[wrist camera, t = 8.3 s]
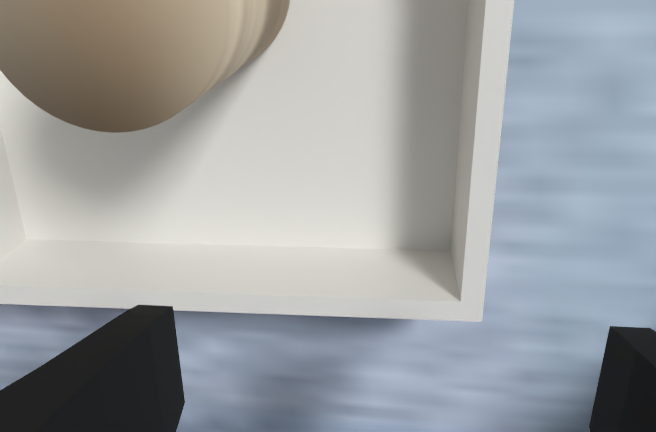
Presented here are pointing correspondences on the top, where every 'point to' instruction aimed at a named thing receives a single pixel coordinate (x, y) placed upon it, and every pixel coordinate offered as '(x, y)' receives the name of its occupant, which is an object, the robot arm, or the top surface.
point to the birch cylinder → (129, 54)
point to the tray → (279, 177)
